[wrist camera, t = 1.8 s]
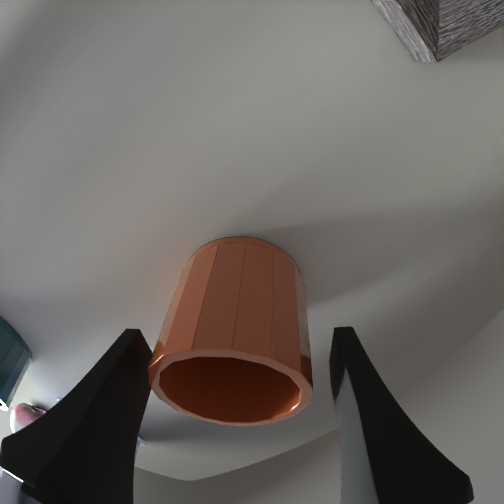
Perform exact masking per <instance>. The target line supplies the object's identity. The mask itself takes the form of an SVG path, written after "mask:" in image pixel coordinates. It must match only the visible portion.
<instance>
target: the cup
mask: <svg viewBox="0 0 504 504" xmlns="http://www.w3.org/2000/svg"><path fill="white" fill-rule="evenodd" d="M148 383H149V385H150V387H151V388H152V389H153V391H154V392H155V394H156V395H157V396H158V397H159V399H161V400H162V401H164V402H165V403H167V404H168V405H169V406H171V407H172V408H174V409H175V410H177V411H179V412H181V413H184V414H186V415H189V416H191V417H194V418H196V419H199V420H202V421H207V422H212V423H217V424H222V425H229V426H259V425H265V424H272V423H277V422H280V421H283V420H285V419H288V418H290V417H293V416H295V415H297V414H299V413H300V412H301V411H302V410H303V409H304V408H305V407H306V406H308V405H309V404H310V402H311V399H312V391H313V380H312V366H311V354H310V342H309V331H308V321H307V310H306V301H305V291H304V284H303V281H302V276H301V273H300V271H299V268H298V267H297V265H296V264H295V262H294V261H293V260H292V259H291V257H290V256H289V255H287V254H286V253H285V252H284V251H283V250H281V249H280V248H278V247H277V246H275V245H273V244H270V243H268V242H265V241H263V240H259V239H255V238H249V237H228V238H223V239H218V240H215V241H213V242H210V243H208V244H206V245H204V246H203V247H201V248H200V249H199V250H197V251H196V252H195V253H194V254H193V255H192V256H191V258H190V259H189V260H188V262H187V264H186V266H185V268H184V269H183V271H182V274H181V277H180V279H179V282H178V285H177V287H176V290H175V293H174V295H173V298H172V301H171V304H170V306H169V309H168V312H167V315H166V318H165V320H164V323H163V326H162V329H161V332H160V335H159V338H158V340H157V343H156V346H155V349H154V352H153V355H152V358H151V361H150V364H149V367H148Z"/></svg>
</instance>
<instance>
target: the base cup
mask: <svg viewBox="0 0 504 504" xmlns="http://www.w3.org/2000/svg"><path fill="white" fill-rule="evenodd" d="M31 361H32V356H31V353H30V350H29V349H28V347H27V345H26V344H25V342H24V341H23V340H22V338H21V337H20V336H19V335H18V334H17V332H16V331H15V330H14V329H13V328H12V327H11V326H10V325H9V324H8V323H7V322H6V321H5V320H4V319H3V318H2V317H0V408H2V409H5V410H7V409H8V408H9V405H10V403H11V401H12V399H13V397H14V395H15V393H16V390H17V388H18V386H19V384H20V382H21V380H22V378H23V376H24V374H25V372H26V371H27V369H28V367H29V365H30V363H31Z"/></svg>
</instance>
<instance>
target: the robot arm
mask: <svg viewBox="0 0 504 504" xmlns="http://www.w3.org/2000/svg"><path fill="white" fill-rule="evenodd" d="M152 355H153V353H152V351H151V349H150V348H149V346H148V344H147V342H146V340H145V338H144V336H143V335H142V333H141V331H140V329H128V328H127V329H126V330H125V331H124V332H123V333H122V334H121V335H120V336H119V337H118V339H117V340H116V341H115V342H114V343H113V344H112V346H111V347H110V348H109V349H108V350H107V352H106V353H105V354H104V355H103V356H102V357H101V359H100V360H99V361H98V362H97V363H96V364H95V366H94V367H93V368H92V369H91V370H90V371H89V372H88V373H87V374H86V375H85V377H84V378H83V379H82V380H81V381H80V382H79V383H78V384H77V385H76V386H75V387H74V388H73V389H72V390H71V391H70V392H69V393H68V394H67V395H66V396H65V397H64V398H60V397H58V399H57V401H58V403H57V404H56V405H55V406H53V407H52V408H51V409H50V410H48V411H47V412H46V413H44V414H43V415H42V416H41V417H39V418H38V419H36V420H35V421H33V422H32V423H30V424H29V425H27V426H26V427H24V428H22V429H21V430H19V431H17V432H15V433H13V434H11V435H10V436H7V437H5V438H4V439H3V440H2V442H1V445H0V466H1V467H2V468H4V469H5V470H2V472H1V475H0V504H133V475H134V463H135V459H136V455H137V451H138V447H139V445H142V446H145V445H146V442H145V441H143V440H142V439H141V438H140V437H139V436H138V434H139V429H140V426H141V422H142V419H143V415H144V412H145V408H146V405H147V402H148V398H149V395H150V391H151V387H150V385H149V383H148V367H149V364H150V361H151V358H152ZM329 366H330V380H331V389H332V395H333V401H334V407H335V413H336V419H337V425H338V432H339V439H340V450H341V451H340V452H341V500H340V504H468V503H470V502H471V501H473V499H474V495H473V488H472V484H471V481H470V479H469V476H468V475H467V474H465V473H464V472H463V471H461V470H460V469H459V468H458V467H457V466H455V465H454V464H453V463H452V462H451V461H449V460H448V459H447V458H446V457H445V456H444V455H443V454H442V453H441V452H440V451H439V450H438V449H437V448H436V447H435V446H434V445H433V444H432V443H431V442H430V441H429V440H428V439H427V438H426V437H425V436H424V435H423V434H422V433H421V432H420V431H419V429H418V428H417V427H416V426H415V424H414V423H413V422H412V421H411V420H410V418H409V417H408V416H407V415H406V413H405V412H404V411H403V410H402V408H401V407H400V406H399V404H398V403H397V402H396V400H395V399H394V397H393V396H392V394H391V393H390V391H389V390H388V388H387V387H386V385H385V384H384V382H383V381H382V379H381V378H380V376H379V374H378V373H377V371H376V369H375V368H374V366H373V364H372V363H371V361H370V359H369V357H368V356H367V354H366V352H365V350H364V348H363V346H362V344H361V343H360V341H359V339H358V336H357V334H356V332H355V330H354V328H353V327H351V326H349V327H336V328H334V333H333V340H332V346H331V352H330V359H329ZM6 470H7V471H6Z"/></svg>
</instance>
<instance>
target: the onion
mask: <svg viewBox="0 0 504 504" xmlns="http://www.w3.org/2000/svg"><path fill="white" fill-rule="evenodd" d="M46 412H47V411H44V410H41V409H39V408H36V407H33V406H31V405H28V404H25V403H21V404H18V405H16V406H15V407H14V409H13V411H12V414H11V420H10V423H11V428H12V431H13V433H15V432H17V431H19V430H21V429H22V428H24V427H26V426H27V425H29V424H30V423H32V422H33V421H35V420H36V419H38V418H39V417H41V416H42V415H43V414H44V413H46Z"/></svg>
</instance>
